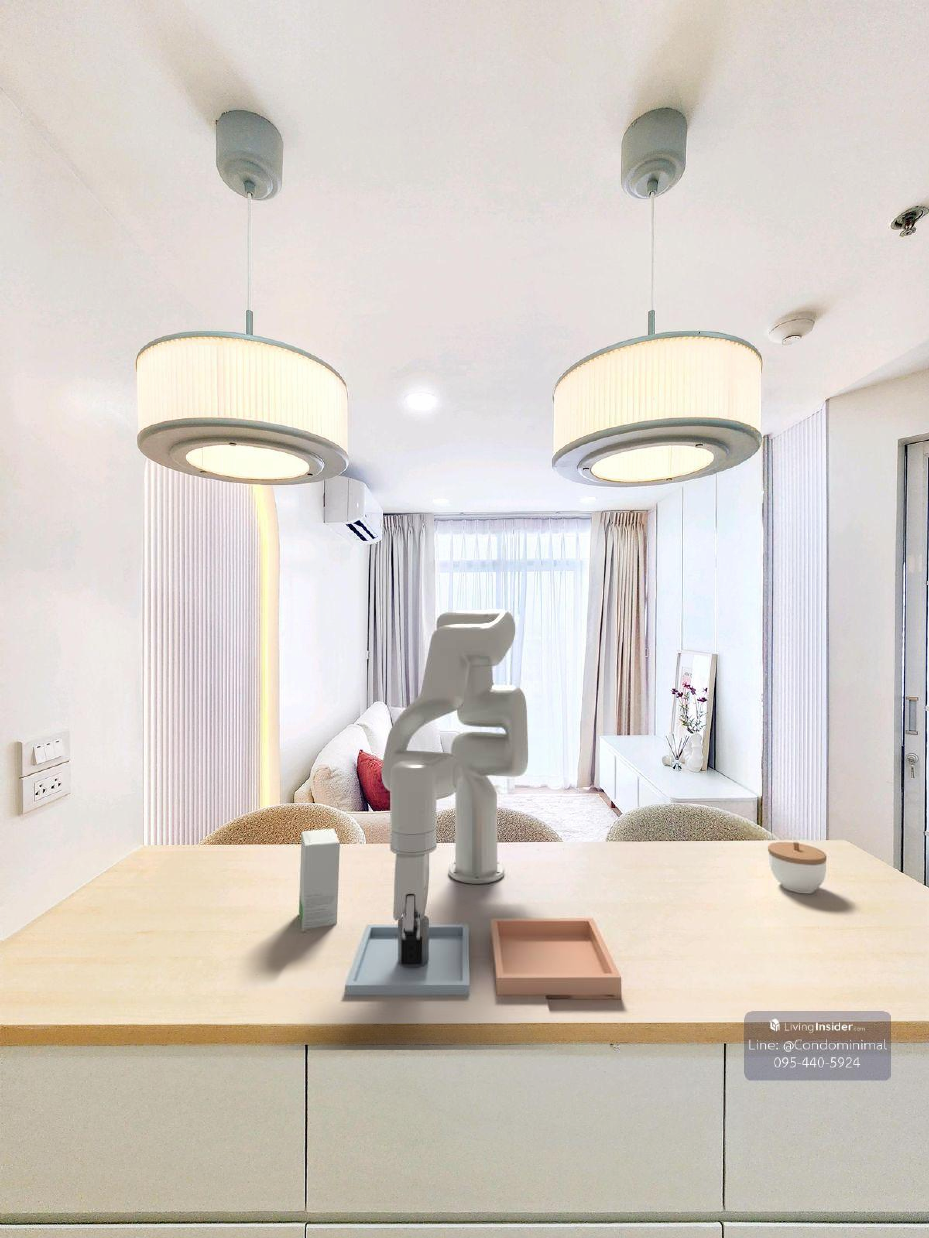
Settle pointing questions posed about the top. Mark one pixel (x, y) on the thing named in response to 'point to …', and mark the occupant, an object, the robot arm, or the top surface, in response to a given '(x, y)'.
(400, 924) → the gray metal cylinder
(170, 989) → the top surface
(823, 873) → the lidded jar
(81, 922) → the top surface
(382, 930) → the parts tray
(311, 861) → the skincare box
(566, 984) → the terracotta dish
